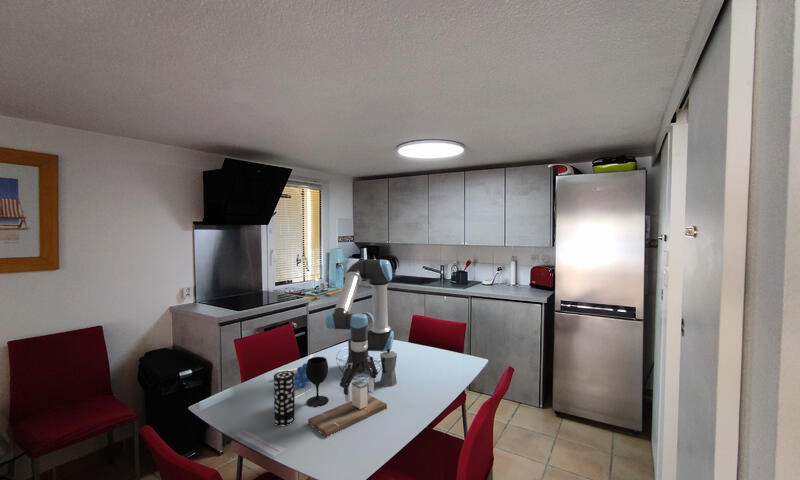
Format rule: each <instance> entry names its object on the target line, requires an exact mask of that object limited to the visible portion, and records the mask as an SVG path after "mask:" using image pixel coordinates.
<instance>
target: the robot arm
mask: <svg viewBox="0 0 800 480" xmlns="http://www.w3.org/2000/svg"><path fill="white" fill-rule="evenodd" d="M392 279H393V268H392V265H391V262H390V261H389V260H387V259H381V258H380V259H359V260H357V261H356V262H354V263H353V264H352V265H350V267H348V269H347V270H346V273H345V275H344V283H343V285H342V288H341V291H340V294H339V297H338V300H337V302H336V305H335V308H334V311H333V312H329V313H327V314H326V317H325V326H326V328H327V329H329V330H349V331H348V335H347V336H348V337H347V345H348V346H347V349H348V351H347V358H346V359H347V360H346V362H345V366H344V367H345V368H344V371H343V374H342V377H341V380H340V382H339V387H341V388H343V395H344V399H345V400H344V401H345V402H346V403H347V402H350V401H351V386H350V385H351V384H352V381H353V379H354V378H355V375H356V374H357V373H363V372H364V371H365V372H366V373H367V374H368V375H369V376H368V392H371V393H372V394H373V393H374V392H375V390H374V389H375V387H374V385H375V379H376V378H377V376H378V375H379V371H378V369H377V367H376V365H375V363H374V357H373V356H370V355H369V352H382V353H383V352H387V349H390V351H392V348H393V343H394V337H395V336H394V335H395V333H394V330H392V329H391V326H389V320H388V319H389V317H388V316H389V315H388V312H389V309H388V285H389V284H390V281H392ZM362 281H368V283H369V284H368V285H370V286H371V296H372V297H371V298H372V300H371V301H372V314H371V312H368V311H364V312H362V313H350V312H351V309H352V306H353V304H354V299H355V297H356V293H357V290H358V287H359V285H360V284H361V283H362ZM370 368H371V369H370Z"/></svg>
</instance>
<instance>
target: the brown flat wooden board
mask: <svg viewBox="0 0 800 480" xmlns="http://www.w3.org/2000/svg"><path fill="white" fill-rule="evenodd" d="M367 401H368V406H367V407H364V408H362V409H359V408H357V407H356V406H354V405H352V400H350V402H347V401H346V402H345V403H342V404H341V405H338V406H336V407H333V408H331V409H328V410H326V411H324V412H321V413H319V414H317V415H314V416H313V417H310V418H308V419H307V423H309V424H310V427H312V426H313V427H314V428H313V427H312V428H313V429H314V430H316V429H317V430H318V431H317V430H316V431H317V432H319V431H320V432H321V433H322V434H323V435H322V434H321V433H320V432H319V433H320V434H321V435H322V436H324V435H325V436H326V437H327V436H329V437H331V436H332V435H331V434H333V435H335V434H337V433H339V432H341V431H343V430H345V429H348V428H349V427H351V426H354V425H355V424H357V423H359V422H361V421H364V420H366V419H367V418H369V417H371V416H373V415H377V414H378V413H380V412H383V411H385V410H386V409H387V408H388V404H387V403H386V402H383V401H382V400H380V399H378V398H376V397H375V396H372V395H370V394H368V393H367ZM309 424H308V425H309ZM342 429H343V430H342ZM340 430H341V431H340ZM338 431H339V432H338ZM336 432H337V433H336ZM334 433H335V434H334ZM330 435H331V436H330ZM325 436H324V437H325ZM326 437H325V438H326ZM327 438H328V437H327Z"/></svg>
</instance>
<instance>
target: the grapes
mask: <svg viewBox="0 0 800 480" xmlns="http://www.w3.org/2000/svg"><path fill="white" fill-rule="evenodd" d="M306 365H307V362H306V363H303V364H302V365H301V366H299V367H297V368H298V369H297V372H298V373H295V374H294V386H295V387H296V389H300V388H301V387H302V388H304V387H306V386H307V384H308V383H309V382H310V381H309V380H308V378H307V376H306Z"/></svg>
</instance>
